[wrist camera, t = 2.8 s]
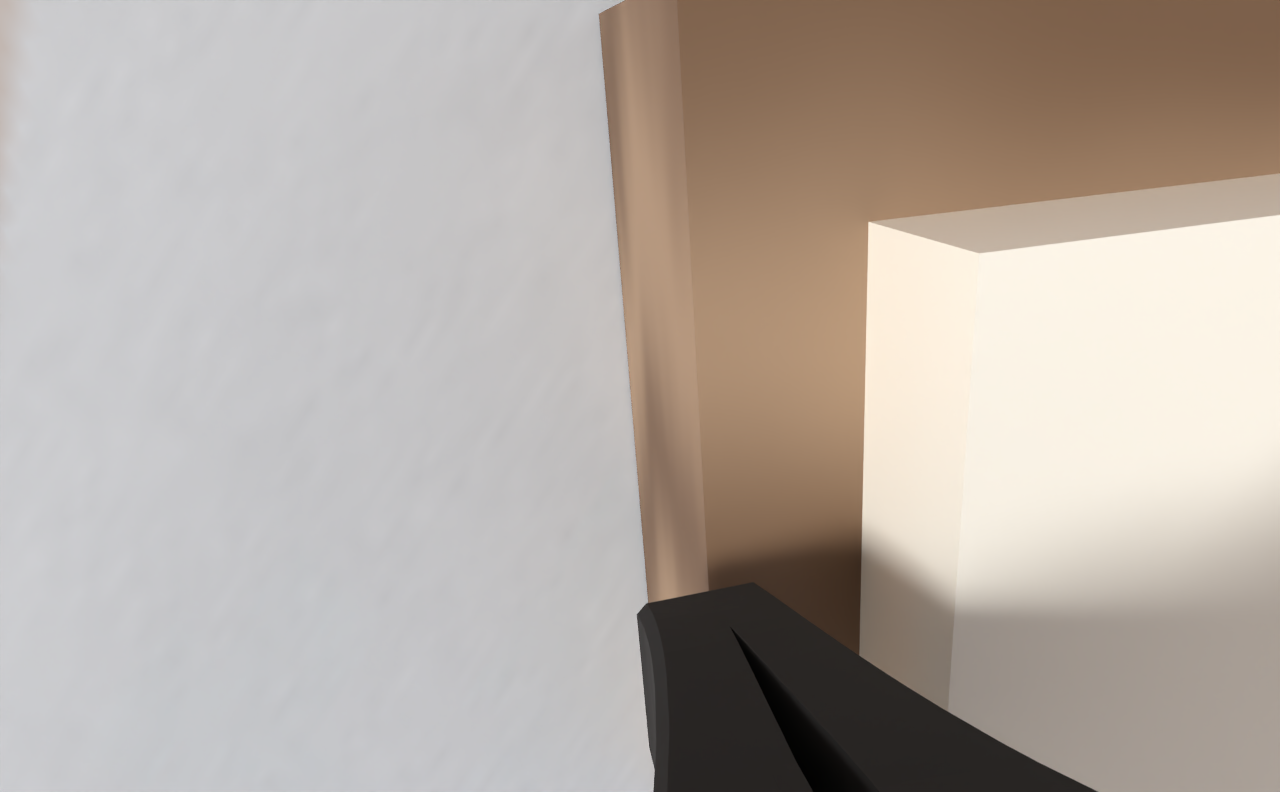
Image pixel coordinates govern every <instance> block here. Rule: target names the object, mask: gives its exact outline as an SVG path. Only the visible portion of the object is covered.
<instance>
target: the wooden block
mask: <svg viewBox="0 0 1280 792" xmlns="http://www.w3.org/2000/svg"><path fill="white" fill-rule="evenodd" d="M599 20H600V32H601V44H602V56H603V68H604V80H605V92H606V103H607V115H608V127H609V139H610V151H611V163H612V175H613V187H614V199H615V211H616V223H617V235H618V247H619V259H620V270H621V282H622V294H623V306H624V318H625V330H626V342H627V354H628V366H629V378H630V390H631V402H632V414H633V425H634V437H635V449H636V461H637V473H638V485H639V497H640V509H641V521H642V533H643V545H644V557H645V569H646V580H647V592H648V603H651V602H656V601H661V600H666V599H671V598H676V597H681V596H686V595H691V594H696V593H701V592H706V591H711V590H716V589H721V588H726V587H731V586H736V585H741V584H746V583H751V582H754V583H756V584H757V585H758V586H760V587H761V588H763V589H764V590H766V591H767V592H769V593H770V594H772V595H773V596H775V597H776V598H777V599H779V600H780V601H782V602H783V603H784V604H786V605H787V606H789V607H790V608H791V609H793V610H794V611H796V612H797V613H799V614H800V615H801V616H803V617H804V618H806V619H807V620H808V621H810V622H811V623H813V624H814V625H816V626H817V627H818V628H820V629H821V630H823V631H824V632H826V633H827V634H829V635H830V636H831V637H833V638H834V639H836V640H837V641H839V642H840V643H842V644H843V645H844V646H846V647H847V648H849V649H850V650H852V651H853V652H855V653H856V654H858V655H859V649H860V602H861V555H862V508H863V460H864V413H865V366H866V319H867V272H868V224H869V222H871V221H880V220H888V219H897V218H905V217H914V216H922V215H931V214H940V213H948V212H957V211H965V210H974V209H982V208H991V207H999V206H1008V205H1016V204H1025V203H1033V202H1042V201H1050V200H1059V199H1067V198H1076V197H1084V196H1093V195H1101V194H1110V193H1118V192H1127V191H1135V190H1144V189H1152V188H1161V187H1169V186H1178V185H1186V184H1195V183H1203V182H1212V181H1220V180H1229V179H1237V178H1246V177H1254V176H1263V175H1271V174H1280V0H625V1H623V2H621V3H619V4H617V5H615V6H613V7H611V8H609V9H607V10H606V11H604V12H602V13H600V14H599Z"/></svg>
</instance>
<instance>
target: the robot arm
mask: <svg viewBox="0 0 1280 792" xmlns="http://www.w3.org/2000/svg"><path fill="white" fill-rule="evenodd" d="M637 620H638V631H639V641H640V652H641V663H642V674H643V684H644V695H645V706H646V716H647V727H648V738H649V747H650V752H651V756H652V760H653V764H654V768H655V777H654V792H1098V791H1096V790H1094V789H1092V788H1090V787H1088V786H1086V785H1084V784H1081V783H1079V782H1077V781H1075V780H1073V779H1071V778H1069V777H1067V776H1065V775H1063V774H1061V773H1059V772H1057V771H1055V770H1053V769H1051V768H1049V767H1047V766H1045V765H1043V764H1041V763H1039V762H1037V761H1035V760H1033V759H1031V758H1030V757H1028V756H1026V755H1024V754H1022V753H1020V752H1018V751H1016V750H1015V749H1013V748H1011V747H1009V746H1007V745H1005V744H1003V743H1002V742H1000V741H998V740H996V739H995V738H993V737H991V736H989V735H988V734H986V733H984V732H982V731H981V730H979V729H977V728H976V727H974V726H972V725H970V724H969V723H967V722H965V721H963V720H962V719H960V718H958V717H957V716H955V715H953V714H951V713H950V712H948V711H946V710H944V709H943V708H941V707H939V706H938V705H936V704H934V703H933V702H931V701H930V700H928V699H926V698H925V697H923V696H921V695H920V694H918V693H917V692H915V691H913V690H912V689H910V688H908V687H907V686H905V685H904V684H902V683H901V682H899V681H897V680H896V679H894V678H893V677H891V676H890V675H888V674H887V673H885V672H883V671H882V670H880V669H879V668H877V667H876V666H874V665H873V664H871V663H870V662H868V661H867V660H865V659H864V658H862V657H861V656H859V655H858V654H856V653H855V652H853V651H852V650H850V649H849V648H847V647H846V646H844V645H843V644H842V643H840V642H839V641H837V640H836V639H834V638H833V637H831V636H830V635H829V634H827V633H826V632H824V631H823V630H821V629H820V628H818V627H817V626H816V625H814V624H813V623H811V622H810V621H808V620H807V619H806V618H804V617H803V616H801V615H800V614H799V613H797V612H796V611H794V610H793V609H791V608H790V607H789V606H787V605H786V604H784V603H783V602H782V601H780V600H779V599H777V598H776V597H775V596H773V595H772V594H770V593H769V592H767V591H766V590H764V589H763V588H761V587H760V586H758V585H757V584H756V583H754V582H751V583H746V584H741V585H736V586H731V587H726V588H721V589H716V590H711V591H706V592H701V593H696V594H691V595H686V596H681V597H676V598H671V599H666V600H661V601H656V602H651V603H646V605H645V606H644V607H643V608H642V609H641V610H640V612H639V613H638V614H637Z"/></svg>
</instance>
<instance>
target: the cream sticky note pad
mask: <svg viewBox="0 0 1280 792" xmlns="http://www.w3.org/2000/svg"><path fill="white" fill-rule="evenodd" d="M859 656H861V657H862V658H864V659H865V660H867V661H868V662H870V663H871V664H873V665H874V666H876V667H877V668H879V669H880V670H882V671H883V672H885V673H887V674H888V675H890V676H891V677H893V678H894V679H896V680H897V681H899V682H901V683H902V684H904V685H905V686H907V687H908V688H910V689H912V690H913V691H915V692H917V693H918V694H920V695H921V696H923V697H925V698H926V699H928V700H930V701H931V702H933V703H934V704H936V705H938V706H939V707H941V708H943V709H944V710H946V711H948V712H950V713H951V714H953V715H955V716H957V717H958V718H960V719H962V720H963V721H965V722H967V723H969V724H970V725H972V726H974V727H976V728H977V729H979V730H981V731H982V732H984V733H986V734H988V735H989V736H991V737H993V738H995V739H996V740H998V741H1000V742H1002V743H1003V744H1005V745H1007V746H1009V747H1011V748H1013V749H1015V750H1016V751H1018V752H1020V753H1022V754H1024V755H1026V756H1028V757H1030V758H1031V759H1033V760H1035V761H1037V762H1039V763H1041V764H1043V765H1045V766H1047V767H1049V768H1051V769H1053V770H1055V771H1057V772H1059V773H1061V774H1063V775H1065V776H1067V777H1069V778H1071V779H1073V780H1075V781H1077V782H1079V783H1081V784H1084V785H1086V786H1088V787H1090V788H1092V789H1094V790H1096V791H1098V792H1280V174H1271V175H1263V176H1254V177H1246V178H1237V179H1229V180H1220V181H1212V182H1203V183H1195V184H1186V185H1178V186H1169V187H1161V188H1152V189H1144V190H1135V191H1127V192H1118V193H1110V194H1101V195H1093V196H1084V197H1076V198H1067V199H1059V200H1050V201H1042V202H1033V203H1025V204H1016V205H1008V206H999V207H991V208H982V209H974V210H965V211H957V212H948V213H940V214H931V215H922V216H914V217H905V218H897V219H888V220H880V221H871V222H869V224H868V272H867V319H866V366H865V413H864V460H863V508H862V555H861V602H860V649H859Z"/></svg>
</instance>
